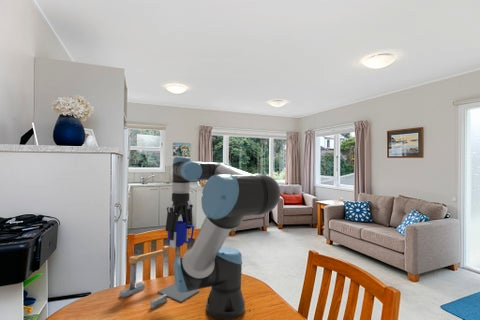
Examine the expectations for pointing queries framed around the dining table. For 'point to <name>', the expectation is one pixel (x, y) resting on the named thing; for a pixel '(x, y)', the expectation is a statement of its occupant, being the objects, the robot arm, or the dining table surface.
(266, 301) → the dining table surface
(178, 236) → the mug
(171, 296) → the coaster
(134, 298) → the dining table surface
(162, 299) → the dock
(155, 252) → the ball-tipped wooden rod
